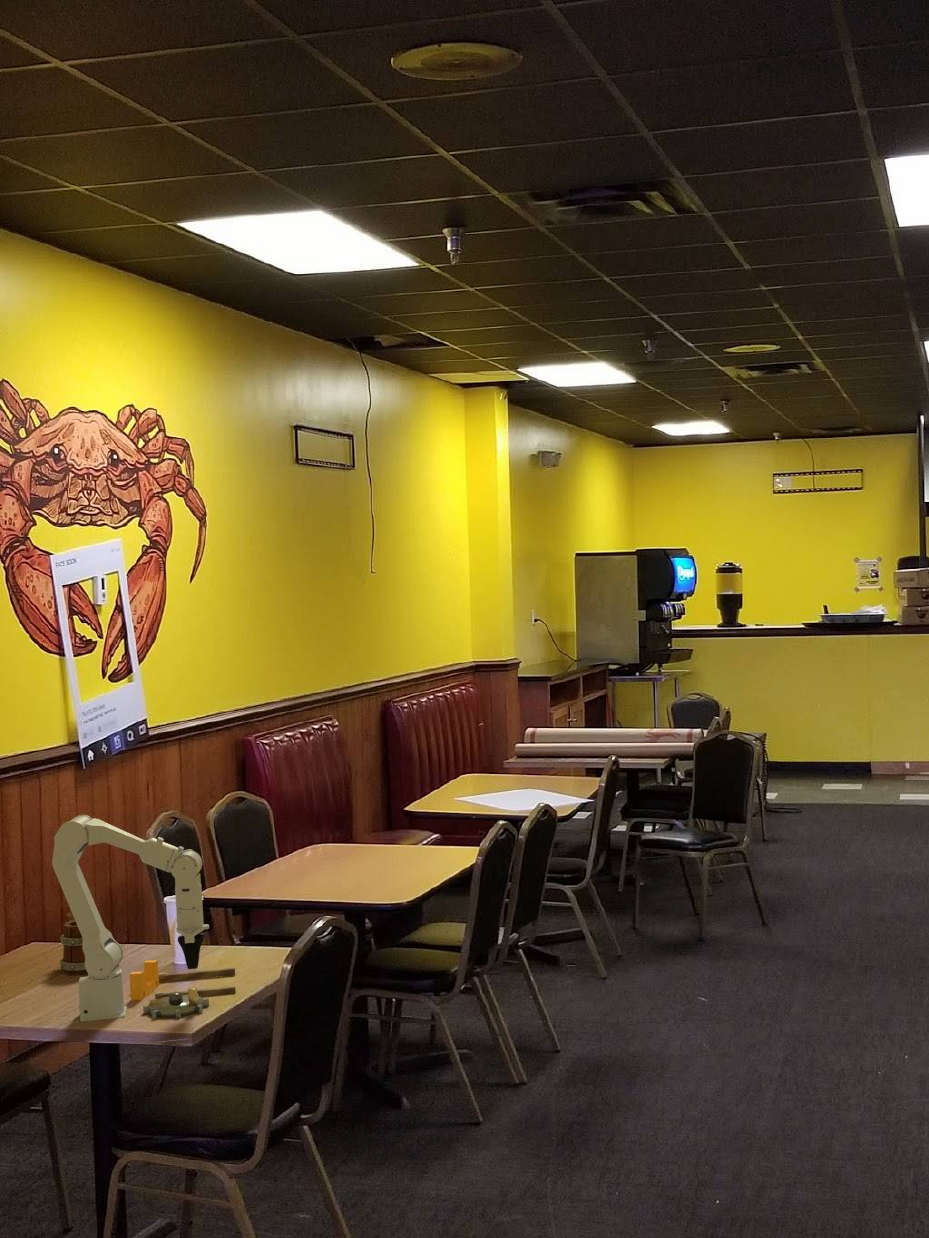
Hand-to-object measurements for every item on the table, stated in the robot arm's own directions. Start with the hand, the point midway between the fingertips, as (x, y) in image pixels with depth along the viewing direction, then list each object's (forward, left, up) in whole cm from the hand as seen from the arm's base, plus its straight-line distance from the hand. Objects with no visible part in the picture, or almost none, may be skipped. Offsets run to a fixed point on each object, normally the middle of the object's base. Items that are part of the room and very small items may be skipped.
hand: (192, 968), depth 317 cm
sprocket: (-4, +1, -9) cm, 10 cm away
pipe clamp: (-13, +18, -10) cm, 24 cm away
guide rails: (0, +19, -9) cm, 21 cm away
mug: (-29, +48, -10) cm, 57 cm away
